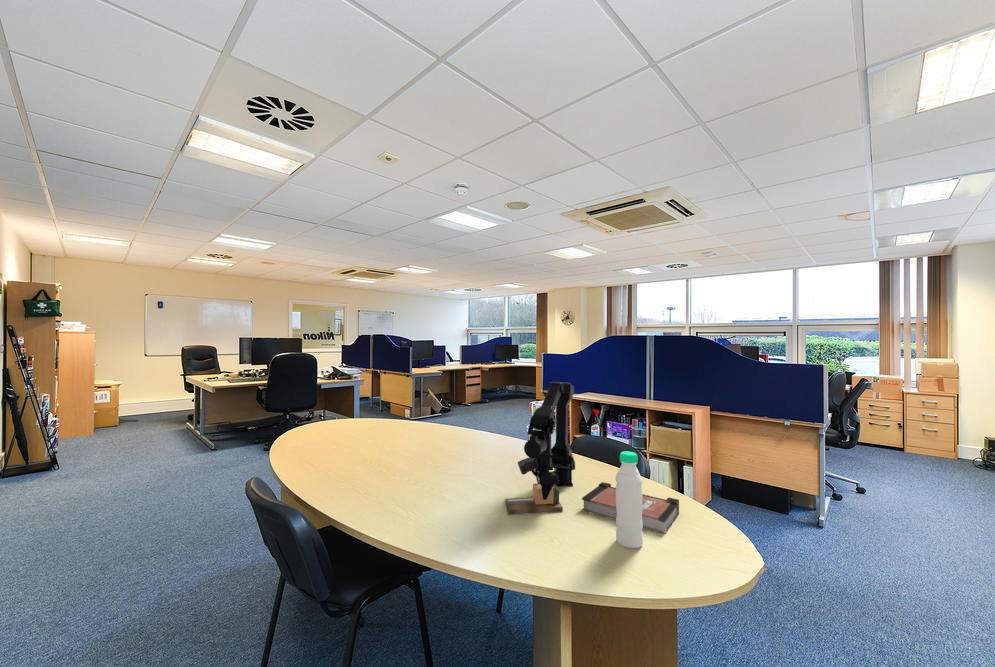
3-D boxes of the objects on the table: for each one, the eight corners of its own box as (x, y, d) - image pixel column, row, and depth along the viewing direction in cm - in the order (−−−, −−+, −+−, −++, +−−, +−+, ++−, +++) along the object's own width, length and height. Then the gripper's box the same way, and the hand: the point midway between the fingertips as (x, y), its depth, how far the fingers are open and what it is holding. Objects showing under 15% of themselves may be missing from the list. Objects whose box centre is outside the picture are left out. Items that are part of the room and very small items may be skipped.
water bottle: (629, 552, 105) (628, 458, 105) (610, 540, 111) (610, 451, 111) (648, 545, 108) (647, 454, 108) (628, 534, 114) (628, 448, 115)
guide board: (555, 500, 138) (555, 496, 138) (562, 511, 129) (562, 507, 129) (505, 503, 136) (505, 498, 136) (508, 514, 127) (508, 509, 127)
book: (581, 512, 130) (581, 497, 130) (602, 495, 144) (602, 482, 144) (664, 536, 114) (664, 519, 114) (679, 515, 128) (678, 499, 128)
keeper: (549, 498, 136) (549, 482, 136) (553, 504, 131) (553, 488, 131) (532, 498, 135) (532, 483, 136) (535, 504, 130) (535, 489, 131)
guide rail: (556, 499, 136) (556, 487, 136) (559, 504, 132) (559, 492, 132) (507, 501, 134) (507, 489, 134) (509, 506, 130) (508, 494, 130)
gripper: (515, 443, 142) (515, 487, 142) (524, 459, 123) (524, 509, 123) (545, 442, 143) (545, 485, 143) (559, 458, 125) (559, 507, 124)
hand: (543, 496), depth 133 cm, fingers closed on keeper, 5 cm apart
